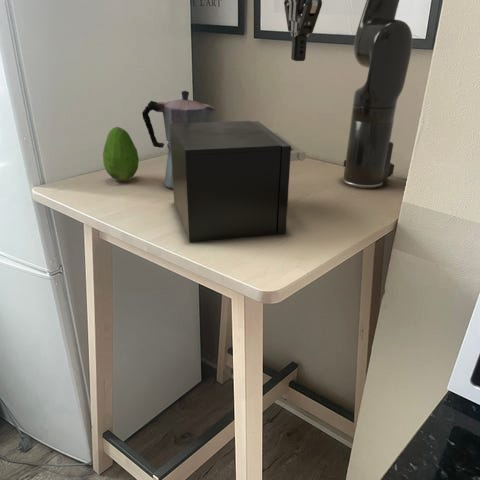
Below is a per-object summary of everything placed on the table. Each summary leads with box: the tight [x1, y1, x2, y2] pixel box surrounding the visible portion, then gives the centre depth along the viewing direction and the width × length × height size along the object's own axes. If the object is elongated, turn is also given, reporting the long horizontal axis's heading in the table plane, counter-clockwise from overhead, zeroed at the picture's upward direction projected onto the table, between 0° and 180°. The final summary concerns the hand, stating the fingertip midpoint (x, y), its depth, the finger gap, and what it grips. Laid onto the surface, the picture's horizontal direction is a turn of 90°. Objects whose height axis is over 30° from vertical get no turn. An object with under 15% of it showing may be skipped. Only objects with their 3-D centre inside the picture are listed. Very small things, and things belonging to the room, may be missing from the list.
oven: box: [170, 120, 281, 244], centre depth 93 cm, size 16×20×16 cm
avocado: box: [102, 126, 140, 182], centre depth 113 cm, size 8×8×12 cm
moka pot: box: [141, 90, 216, 190], centre depth 108 cm, size 10×15×20 cm, turn 107°
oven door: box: [251, 120, 307, 236], centre depth 95 cm, size 5×20×16 cm, turn 14°
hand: (298, 60), depth 90 cm, fingers closed
